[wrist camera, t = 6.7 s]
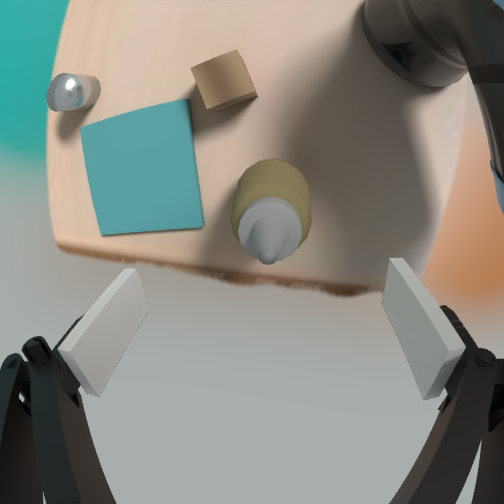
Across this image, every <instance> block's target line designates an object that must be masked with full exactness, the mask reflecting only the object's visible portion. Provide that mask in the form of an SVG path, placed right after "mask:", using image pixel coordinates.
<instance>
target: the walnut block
mask: <svg viewBox="0 0 504 504" xmlns="http://www.w3.org/2000/svg"><path fill="white" fill-rule="evenodd" d="M191 70H192V73H193V75H194V78H195V80H196V83H197V86H198V88H199V91H200V93H201V96H202V98H203V101H204V103H205V106H206V108H207V109H208V110H213V111H220V110H222V109H225V108H227V107H230V106H233V105H235V104H238V103H241V102H244V101H246V100H249V99H252V98H255V97H258V96H257V93H256V91H255V88H254V86H253V83H252V81H251V78H250V76H249V73H248V71H247V69H246V66H245V64H244V61H243V59H242V57H241V56H240V54H239V52H238V50H234V51H231V52H228V53H226V54H223V55H220V56H218V57H215V58H213V59H210V60H208V61H206V62H203V63H201V64H199V65H196V66H194V67H192V68H191Z"/></svg>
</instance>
